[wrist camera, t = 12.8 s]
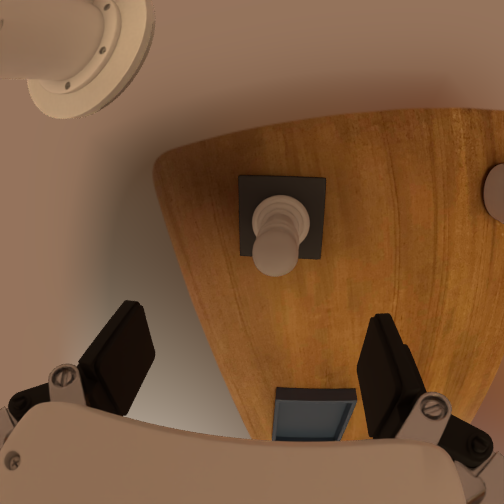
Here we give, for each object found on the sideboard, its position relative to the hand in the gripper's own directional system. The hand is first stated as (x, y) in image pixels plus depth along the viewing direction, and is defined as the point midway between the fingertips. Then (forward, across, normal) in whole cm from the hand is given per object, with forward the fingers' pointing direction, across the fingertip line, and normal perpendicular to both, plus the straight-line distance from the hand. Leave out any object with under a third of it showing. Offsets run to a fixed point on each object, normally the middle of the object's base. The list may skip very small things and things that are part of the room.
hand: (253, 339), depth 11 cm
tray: (+17, -7, +32) cm, 37 cm away
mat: (+18, -1, +1) cm, 18 cm away
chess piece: (+18, -1, +1) cm, 18 cm away
